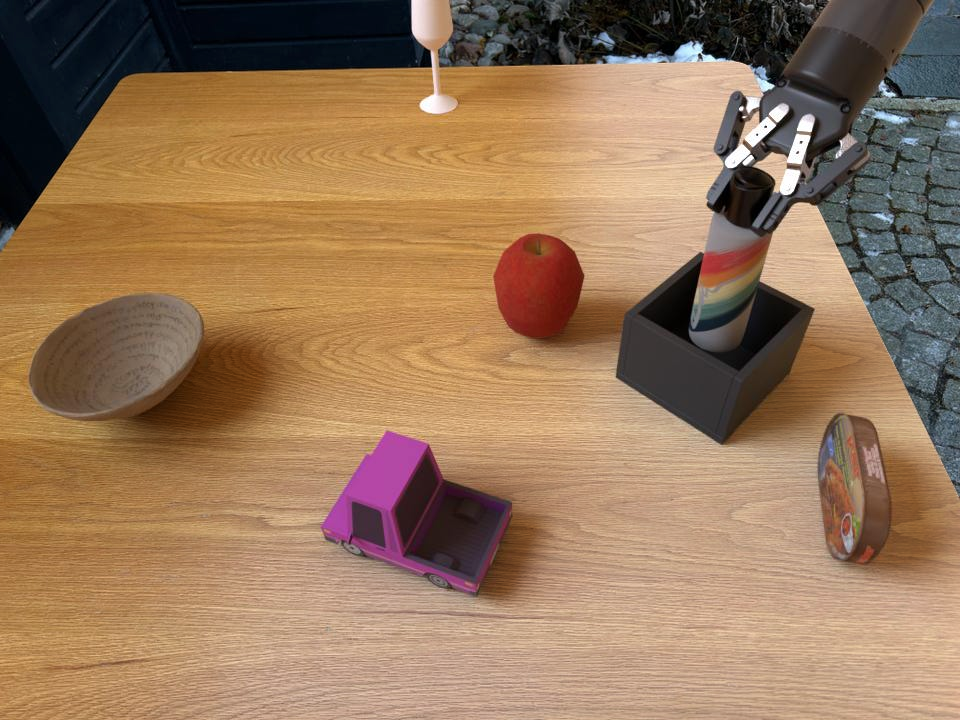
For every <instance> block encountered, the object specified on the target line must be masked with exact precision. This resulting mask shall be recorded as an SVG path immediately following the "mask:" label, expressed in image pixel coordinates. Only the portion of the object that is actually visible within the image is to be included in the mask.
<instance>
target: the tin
mask: <svg viewBox="0 0 960 720" xmlns="http://www.w3.org/2000/svg"><path fill="white" fill-rule="evenodd" d="M827 423H828V424H826V427H825V429H824V432H823V436H822V439H821V442H820V445H819V449H818V456H817V481H818V488H819V496H820V503H821V504H820V505H821V512H822V521H823V528H824V536H825V543H826V546H827V549H828V552H829V554H830V556H831V557H832V558H833V559H834V560H835V561H837V562H846V563H853V564H858V565H869V564H871V563H872V562H873V561H874V560H875V559H876V558H877V557H878V555H879V554H880V552H881V551H882V550H883V548H884V547H885V545H886V544H887V541H888V538H889V534H890V531H891V525H892V517H893V516H892V513H893V512H892V511H893V507H892V498H891V493H890V492H891V491H890V487H889V482H888V477H887V471H886V467H885V463H884V457H883V453H882V448H881V445H880V443H881V442H880V438H879V434H878V431H877V427H876V426H875V424H874V423H873V422H872V421H871V420H870V419H868V418H865V417H862V416H857V415H853V414H852V415H851V414H846V412H838V413H835V414H834V415H833V416H832V417H831V419H830V420H829V421H828V422H827Z"/></svg>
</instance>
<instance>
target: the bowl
mask: <svg viewBox="0 0 960 720" xmlns="http://www.w3.org/2000/svg"><path fill="white" fill-rule="evenodd" d="M204 337H205V323H204V319H203V316H202V315H201V313H200V311H199V310H198V309H197V307H196V306H195V305H193V304H192V303H190V302H189V301H187V300H185V299H184V298H182V297H179V296H177V295H173V294H170V293H161V292H160V293H159V292H140V293H133V294H126V295H121V296H118V297H114V298H111V299H107V300H105V301H103V302H100V303H97V304H94V305H92V306H89V307H87V308H85V309H82V310H80V311H79V312H77V313H75V314H74V315H72V316H69V317H68V318H67V319H65V320H64V321H62V322H61V323H60V324H59V325H58V326H57V327H55V328H54V329H53V330H52V331H51V332H50V333H49V334H47V335H46V336H45V337H44V339H43V340H42V341H41V342H40V344H39V346H38V347H37V348H36V350H35V352H34V353H33V356H32V358H31V361H30V365H29V369H28V375H27V378H28V387H29V391H30V393H31V395H32V397H33V398H34V400H35V401H36V402H37V403H38V405H39V406H41V407H42V408H43V410H45V411H47V412H49V413H51V414H53V415H56V416H59V417H60V418H64V419H69V420H72V421H73V420H74V421H80V422H104V421H106V422H107V421H112V420H119V419H120V420H121V419H122V420H123V419H128V418H131V417H134V416H137V415H140V414H143V413H144V412H146V411H149V410H151V409H152V408H154V407H155V406H157V405H159V404H161V403H162V402H163V401H164V400H166V398H168V397H169V396H170V395H172V393H173V392H174V391H175V390H176V389H177V388H178V387H179V386H180V385H181V383H182V382H183V381H184V380H185V379H186V377H187V376H188V375H189V374H190V371H192V369H193V368H194V366H195V364H196V362H197V360H198V358H199V355H200V352H201V350H202V347H203V342H204Z"/></svg>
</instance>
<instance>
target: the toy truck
mask: <svg viewBox="0 0 960 720" xmlns="http://www.w3.org/2000/svg"><path fill="white" fill-rule="evenodd" d="M440 469H441V468H440V466H439V465H438V462H437V459H436V458H435V455H434V453H433V450H432V448H431V446H430V443H428V442H424V441H421V440H419V439H415V438H412V437H409V436H406V435H403V434H400V433H397V432H394V431H391V430H386V431H385V433H383V435H382V436H381V438H380V440H379V442H378V443H377V445H376V447H375V449H374V450H373V451H372V453H371V454H369V453H366V454H365V455H364V456H363V458H362V460H361V462H360V463H359V465H358V466H357V468H356V470H355V471H354V473H353V474H352V476H351V478H350V479H349V480H348V483H347V484H346V486H345V488H344V489H343V490H342V492H341V494H340V495H339V497H338V498H337V500H336V502H335V503H334V504H333V506H332V508H331V509H330V510H329V513H328V514H327V516H326V518H325V519H324V520H323V522H322V524H321V525H320V529H321V531H322V534H323V537H324V540H325V541H327V542H329V543H333V544H335V545H337V546H338V545H339V543H340V545H341V546H342V548H343V549H344V550H345V551H347V552H348V553H350V554H352V555H354V556H358V557H362V556H366V557H369V558H372V559H375V560H378V561H380V562H383V563H385V564H387V565H391V566H394V567H396V568H399V569H401V570H404V571H406V572H409V573H411V574H415V575H416V576H420V577H424V574H425V577H426V579H427V580H428V581H429V582H430V583H431V584H433V585H435V586H436V587H438V588H442V589H450V588H452V589H455V590H458V591H460V592H462V593H464V594H468V595H469V596H473V597H476V598H478V595H479V594H480V591H481V588H482V586H483V584H484V581H485V579H486V577H487V576H488V573H489V571H490V568H491V566H492V563H493V562H494V559H495V556H496V554H497V553H498V550H499V547H500V545H501V544H502V541H503V538H504V536H505V534H506V533H507V532H506V531H507V529H508V527H509V525H510V522H511V520H512V518H513V501H510V500H508V499H504V498H501V497H498V496H495V495H493V494H489V493H486V492H483V491H480V490H477V489H475V488H472V487H468V486H466V485H462V484H459V483H456V482H453V481H450V480H447V479H444V476H443V474H442V472H441V470H440Z"/></svg>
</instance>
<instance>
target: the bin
mask: <svg viewBox="0 0 960 720" xmlns="http://www.w3.org/2000/svg"><path fill="white" fill-rule="evenodd" d="M703 257H704V252H701V251H699V252H698V253H697V254H696V255H695V256H693V257H692V258H691V259H690V260H688V261H687V262H686V263H684V265H682V266H680V268H679V269H678V270H677V269H676V271H674V273H673V274H671V275H670V276H669V277H668V278H666V279H665V280H664V281H662V282H661V283H660V284H659V285H658V286H657V287H655V288H654V289H652V291H650V292H649V293H648V294H647V295H646V296H644V297H643V298H642V299H640V300H639V301H638V302H637V303H636V304H635V305H633V306H632V307H630V309H629V310H627V311H626V312H625V313H624V315H623V321H622V327H621V328H622V329H621V334H620V335H621V336H620V342H619V347H618V354H617V355H618V356H617V363H616V370H615V378H616V379H617V380H619V381H620V382H622V383H623V384H625V385H626V386H628V387H630V388H631V389H633V390H634V391H636V392H638V393H639V394H641V395H642V396H644V397H645V398H647V399H649V400H650V401H652V402H654V403H655V404H656V405H658V406H659V407H661V408H663V409H664V410H666V411H667V412H669V413H671V414H672V415H674V416H675V417H677V418H678V419H680V420H682V421H683V422H685V423H686V424H688V425H689V426H691V427H692V428H694V429H695V430H698V431H699V432H701V433H702V434H703V435H705V436H707V437H708V438H710V439H712V440H713V441H715V442H716V443H718V444H720V445H723V444H725V442H726V441H727V440H728V439H729V438H730V437H731V436H732V434H734V432H736V431H737V430H738V429H739V428H740V426H741V425H742V424H743V423H744V422H745V421H747V419H748V418H749V417H750V416H751V415H752V414H753V413H754V412H755V410H757V408H758V407H759V406H760V405H761V404H762V403H763V402H764V401H765V400H766V399H767V398H768V397H769V396H770V395H771V394H772V392H773V391H774V390H775V389H776V388H777V387H778V386H779V385H781V383H782V382H783V381H784V380H785V379H786V378H787V377H788V376H789V375H790V373H791V371H792V368H793V366H794V363H795V361H796V358H797V356H798V353H799V351H800V349H801V346H802V343H803V341H804V338H805V336H806V333H807V330H808V328H809V326H810V323H811V320H812V318H813V315H814V313H815V310H816V308H814V307H813V306H811V305H809V304H807V303H805V302H803V301H801V300H799V299H797V298H795V297H793V296H790V295H788V294H786V293H784V292H782V291H781V290H779V289H776V288H774V287H773V286H771V285H768V284H767V283H764V282H762V281H761V280H759V284H758V287H757V291H756V294H755V298H754V301H753V305H752V308H751V312H750V315H749V319H748V322H747V326H746V329H745V332H744V336H743V338H742V341H741V343H740V344H739V345H738V346H737V347H736V348H735V349H733V350H731V351H728V352H723V353H716V352H710V351H706V350H704V349H702V348H700V347H698V346H697V345H696V344H695V343H694V342H693V341H692V340H691V338H690V335H689V325H690V319H691V314H692V309H693V304H694V300H695V295H696V290H697V285H698V281H699V276H700V271H701V266H702V261H703Z"/></svg>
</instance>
